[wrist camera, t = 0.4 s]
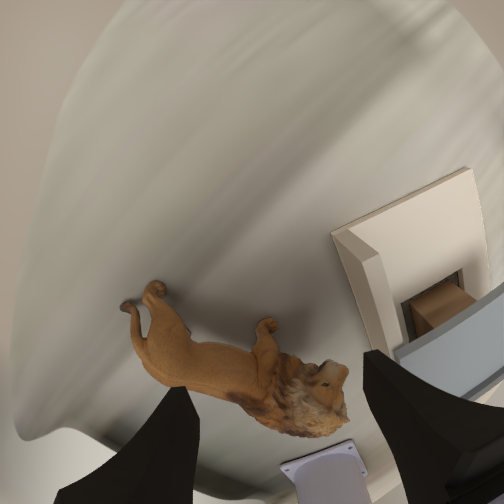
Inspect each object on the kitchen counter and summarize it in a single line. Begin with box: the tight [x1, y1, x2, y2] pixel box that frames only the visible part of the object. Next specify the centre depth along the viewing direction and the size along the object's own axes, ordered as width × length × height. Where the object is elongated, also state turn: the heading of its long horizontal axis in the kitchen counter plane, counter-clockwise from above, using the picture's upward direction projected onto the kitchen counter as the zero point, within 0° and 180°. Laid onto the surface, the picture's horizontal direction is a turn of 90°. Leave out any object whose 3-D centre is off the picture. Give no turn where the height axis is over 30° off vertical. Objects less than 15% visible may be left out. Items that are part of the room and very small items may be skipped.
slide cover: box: [394, 282, 504, 401], centre depth 16 cm, size 8×11×1 cm
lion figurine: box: [120, 281, 350, 438], centre depth 17 cm, size 15×5×9 cm, turn 77°
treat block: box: [409, 280, 477, 339], centre depth 20 cm, size 4×4×5 cm
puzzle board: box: [330, 167, 490, 362], centre depth 20 cm, size 20×12×6 cm, turn 25°
